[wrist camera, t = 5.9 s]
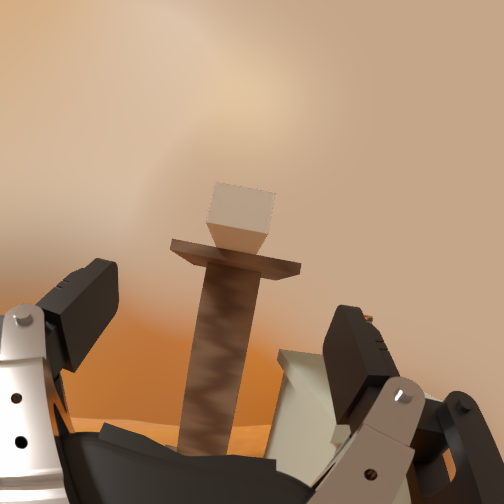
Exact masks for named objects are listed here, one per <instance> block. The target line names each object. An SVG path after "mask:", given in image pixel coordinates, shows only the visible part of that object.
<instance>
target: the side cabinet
mask: <svg viewBox="0 0 504 504" xmlns="http://www.w3.org/2000/svg"><path fill="white" fill-rule="evenodd" d="M277 361H278V362H279V364H280V365H281V367H282V369H283V371H284V373H283V378H282V383H281V387H280V392H279V396H278V401H277V405H276V409H275V413H274V417H273V422H272V426H271V430H270V434H269V438H268V442H267V446H266V450H265V454H264V457H263V458H266V459H276V470H277V471H280V472H283V473H286V474H288V475H291V476H293V477H295V478H297V479H299V480H301V481H302V482H304V483H305V484H307V485H308V486H310V485H311V484H312V483H313V482H314V481H315V480H316V478H317V477H318V476H319V475H320V474H321V472H322V471H323V470H324V469H325V467H326V466H327V465H328V463H329V462H330V461H331V459H332V458H333V457H334V455H335V454H336V453H337V451H338V450H339V448H340V447H341V446H342V444H343V443H344V441H345V440H346V438H347V437H348V436H349V434H350V433H351V431H350V427H349V425H337V424H336V418H335V413H334V408H333V402H332V397H331V392H330V387H329V382H328V377H327V372H326V368H325V363H324V358H323V355H320V354H311V353H304V352H296V351H288V350H282V349H279V353H278V358H277ZM424 394H425V398H428V399H432V400H436V401H440V402H443V401H441V400H439V399H437V398H434V397H432V396H430V395H428V394H426V393H424ZM410 503H411V499H410V493H409V488H408V483H407V478H406V476H405V478H404V480H403V482H402V484H401V487H400V489H399V491H398V493H397V495H396V497H395V499H394V501H393V503H392V504H410Z"/></svg>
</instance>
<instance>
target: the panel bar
mask: <svg viewBox="0 0 504 504" xmlns="http://www.w3.org/2000/svg"><path fill="white" fill-rule="evenodd" d="M274 198H275V193H273V192H267V191H262V190H257V189H252V188H247V187H241V186H236V185H230V184H225V183H219V182H215V186H214V189H213V194H212V198H211V203H210V207H209V211H208V216H207V220H206V223H207V225H208V228H209V230H210V233H211V235H212V238H213V240H214V242H215V245H216V247H217V248H223V249H228V250H233V251H238V252H244V253H249V254H254V255H256V254H257V252H258V251H259V249H260V247H261V245H262V244H263V242H264V240H265V239H266V237H267V235H268V232H269V226H270V220H271V214H272V209H273V203H274Z"/></svg>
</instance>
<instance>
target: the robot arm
mask: <svg viewBox="0 0 504 504" xmlns="http://www.w3.org/2000/svg"><path fill="white" fill-rule="evenodd" d="M118 303H119V293H118V267H117V264H116V263H115V262H113V261H108V260H104V259H100V258H96V259H95V260H94V261H92V262H91V263H90V264H89V265H88V266H86V267H85V268H81V269H79V270H76V271H74V272H72V273H70V274H69V275H68V276H67V277H66V278H64V279H63V282H62V281H61V282H60V283H59V284H58V285H57V286H56V287H54V288H53V289H52V290H51V291H50V292H49V293H47V294H46V295H45V296H44V297H43V298H42V299H41V300H40V301H39V302H38V303H37V304H36V305H32V304H22V305H18V306H15V307H13V308H12V309H10V310H9V311H8V312H7V313H6V315H5V316H3V315H0V504H392V503H393V501H394V499H395V497H396V495H397V493H398V491H399V489H400V487H401V484H402V482H403V480H404V478H405V476H406V478H407V483H408V488H409V493H410V499H411V504H504V463H503V461H502V458H501V456H500V453H499V451H498V448H497V446H496V444H495V441H494V439H493V437H492V435H491V432H490V430H489V428H488V426H487V424H486V422H485V420H484V417H483V415H482V413H481V411H480V409H479V407H478V405H477V403H476V402H475V401H474V399H473V398H472V397H470V396H469V395H468V394H466V393H464V392H460V391H453V392H451V393H449V395H448V396H447V397H446V398H445V400H444V401H443V402H440V401H436V400H432V399H428V398H425V394H424V392H423V390H422V389H421V388H420V387H419V386H418V385H417V384H416V383H415V382H413V381H412V380H409V379H407V378H404V377H400V375H399V372H398V370H397V368H396V366H395V364H394V361H393V359H392V357H391V355H390V353H389V351H387V350H388V349H387V346H386V344H385V343H384V340H383V338H382V336H381V334H380V332H379V331H378V330H377V329H376V328H375V327H374V326H373V325H372V324H371V323H370V322H367V321H366V319H365V317H364V315H363V313H362V311H361V309H360V308H359V307H353V306H346V305H339V306H338V307H337V309H336V311H335V314H334V316H333V320H332V322H331V324H330V327H329V329H328V332H327V334H326V337H325V340H324V343H323V358H324V363H325V368H326V372H327V377H328V382H329V387H330V392H331V397H332V402H333V408H334V413H335V418H336V424H337V425H349V427H350V431H351V433H350V434H349V436H348V437H347V438H346V440H345V441H344V443H343V444H342V446H341V447H340V448H339V450H338V451H337V453H336V454H335V455H334V457H333V458H332V459H331V461H330V462H329V463H328V465H327V466H326V467H325V469H324V470H323V471H322V472H321V474H320V475H319V476H318V477H317V478H316V480H315V481H314V482H313V483H312V484H311V485H310V486H308V485H307V484H305V483H304V482H302V481H301V480H299V479H297V478H295V477H293V476H291V475H288V474H286V473H283V472H280V471H277V470H276V459H266V458H256V457H247V456H239V455H217V456H186V455H182V454H180V453H178V452H175V451H173V450H171V449H169V448H167V447H165V446H163V445H161V444H159V443H157V442H155V441H153V440H151V439H150V438H148V437H146V436H144V435H141V434H138V433H134V432H131V431H128V430H125V429H122V428H119V427H116V426H113V425H110V424H108V423H105V422H104V424H103V426H102V429H101V431H100V432H76V433H75V431H74V428H73V425H72V422H71V418H70V414H69V410H68V406H67V401H66V396H65V391H64V386H63V380H62V376H61V373H60V371H61V370H62V368H63V369H66V370H68V371H71V372H73V373H75V371H76V370H77V368H78V367H79V365H80V364H81V362H82V361H83V360H84V358H85V357H86V355H87V354H88V352H89V351H90V349H91V348H92V346H93V345H94V343H95V342H96V341H97V339H98V338H99V336H100V335H101V334H102V332H103V331H104V329H105V328H106V327H107V325H108V324H109V322H110V321H111V320H112V318H113V317H114V315H115V314H116V312H117V309H118ZM448 448H450V451H451V454H452V457H453V460H454V463H455V467H456V474H455V477H454V479H453V480H452V482H450V479H449V475H448V471H447V468H446V465H445V462H444V458H443V455H442V454H443V453H444V452H445V451H446V450H447V449H448Z"/></svg>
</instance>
